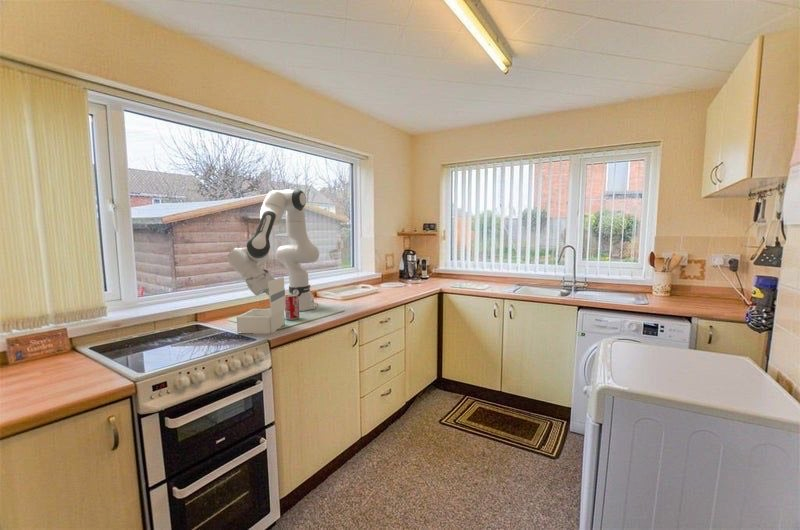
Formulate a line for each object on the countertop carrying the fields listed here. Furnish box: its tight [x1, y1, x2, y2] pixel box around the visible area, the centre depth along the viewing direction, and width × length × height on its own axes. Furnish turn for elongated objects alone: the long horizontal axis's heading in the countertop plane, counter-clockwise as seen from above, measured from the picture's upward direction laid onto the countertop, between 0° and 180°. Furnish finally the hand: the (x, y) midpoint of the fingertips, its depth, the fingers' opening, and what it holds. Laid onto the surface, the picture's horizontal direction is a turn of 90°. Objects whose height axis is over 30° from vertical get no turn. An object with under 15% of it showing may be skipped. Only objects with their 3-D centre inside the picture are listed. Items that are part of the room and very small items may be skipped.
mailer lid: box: [268, 276, 286, 316], centre depth 166 cm, size 16×16×1 cm
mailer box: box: [236, 308, 285, 335], centre depth 168 cm, size 16×16×8 cm
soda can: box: [284, 293, 300, 321], centre depth 186 cm, size 7×7×13 cm
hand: (275, 296), depth 166 cm, fingers closed, pressing on mailer lid
